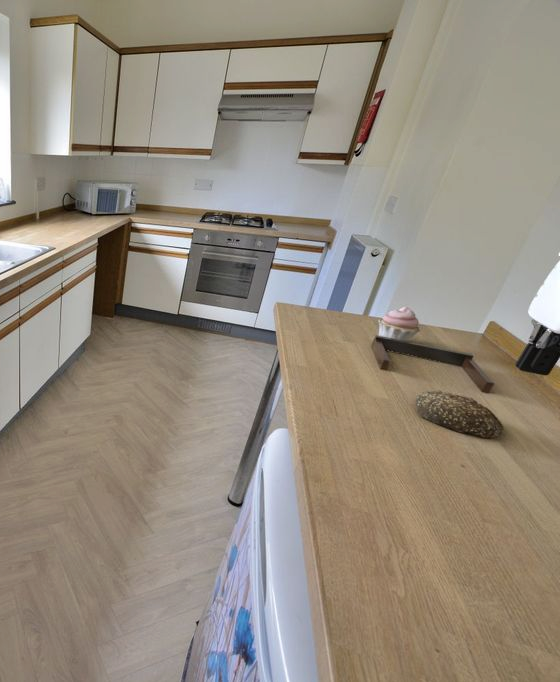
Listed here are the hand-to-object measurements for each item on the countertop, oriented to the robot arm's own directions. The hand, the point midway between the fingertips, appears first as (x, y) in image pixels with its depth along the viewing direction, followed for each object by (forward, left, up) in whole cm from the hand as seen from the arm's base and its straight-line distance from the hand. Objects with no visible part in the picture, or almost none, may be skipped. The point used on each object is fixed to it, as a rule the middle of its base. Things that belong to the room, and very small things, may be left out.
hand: (530, 370), depth 62 cm
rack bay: (0, -38, -17) cm, 41 cm away
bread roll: (0, -13, -17) cm, 21 cm away
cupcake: (+4, -54, -17) cm, 56 cm away
